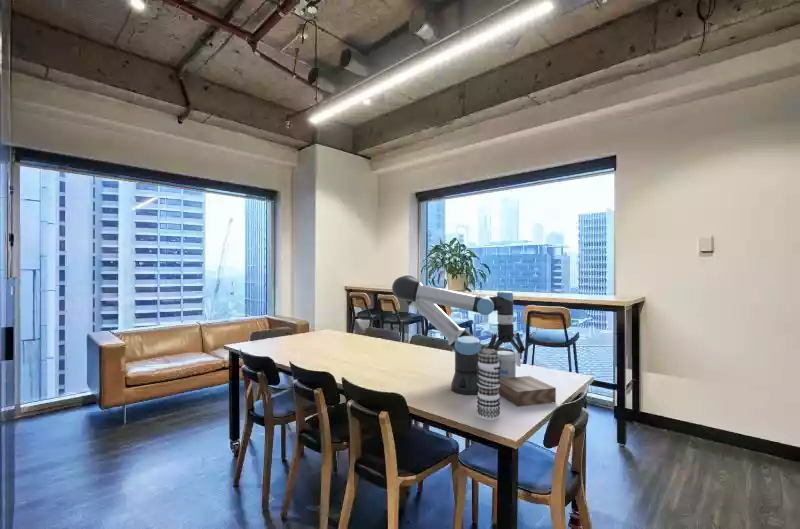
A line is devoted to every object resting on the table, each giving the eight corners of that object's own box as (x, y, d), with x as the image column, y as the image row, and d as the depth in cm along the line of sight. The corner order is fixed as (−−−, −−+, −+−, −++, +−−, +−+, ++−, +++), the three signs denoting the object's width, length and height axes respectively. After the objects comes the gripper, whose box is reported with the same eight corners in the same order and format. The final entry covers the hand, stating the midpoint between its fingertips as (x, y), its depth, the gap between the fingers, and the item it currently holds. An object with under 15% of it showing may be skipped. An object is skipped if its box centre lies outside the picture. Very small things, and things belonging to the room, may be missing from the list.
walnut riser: (517, 406, 155) (517, 391, 155) (494, 392, 172) (494, 379, 172) (555, 402, 159) (555, 387, 160) (529, 388, 177) (529, 375, 177)
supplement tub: (492, 384, 184) (492, 353, 184) (497, 379, 192) (497, 349, 192) (513, 387, 179) (513, 355, 179) (517, 381, 188) (517, 351, 188)
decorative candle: (495, 410, 151) (495, 346, 151) (505, 419, 141) (505, 352, 141) (472, 411, 149) (472, 347, 149) (481, 421, 140) (481, 353, 140)
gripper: (486, 325, 179) (486, 371, 179) (532, 322, 186) (532, 366, 186) (478, 323, 186) (479, 367, 186) (523, 320, 193) (523, 363, 193)
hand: (506, 367), depth 186 cm, fingers open, 13 cm apart
